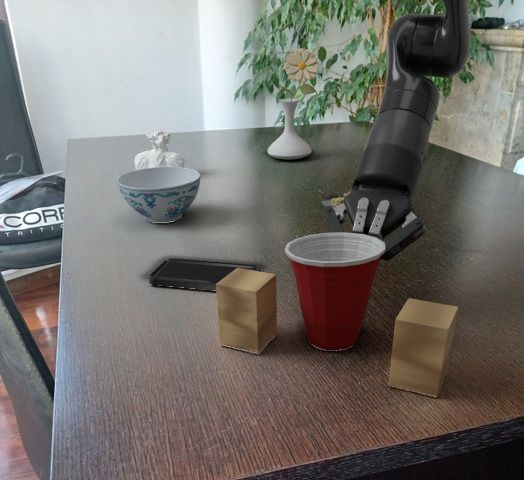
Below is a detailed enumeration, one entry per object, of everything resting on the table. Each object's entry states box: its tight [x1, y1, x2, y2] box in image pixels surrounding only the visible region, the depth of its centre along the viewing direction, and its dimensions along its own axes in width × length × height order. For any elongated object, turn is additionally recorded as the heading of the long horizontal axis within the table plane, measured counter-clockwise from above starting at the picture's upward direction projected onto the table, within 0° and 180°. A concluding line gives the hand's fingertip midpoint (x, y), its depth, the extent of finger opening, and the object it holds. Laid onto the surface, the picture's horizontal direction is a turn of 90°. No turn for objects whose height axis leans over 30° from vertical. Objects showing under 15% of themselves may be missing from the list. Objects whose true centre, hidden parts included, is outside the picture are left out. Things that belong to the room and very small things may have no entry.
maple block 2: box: [388, 297, 459, 397], centre depth 57 cm, size 5×5×8 cm
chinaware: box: [116, 167, 201, 222], centre depth 105 cm, size 15×15×8 cm
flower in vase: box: [266, 47, 320, 160], centre depth 140 cm, size 13×11×25 cm
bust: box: [133, 129, 186, 171], centre depth 131 cm, size 12×8×11 cm
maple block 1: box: [215, 268, 278, 353], centre depth 65 cm, size 5×5×8 cm
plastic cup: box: [284, 231, 386, 350], centre depth 64 cm, size 11×11×12 cm
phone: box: [148, 257, 261, 290], centre depth 82 cm, size 8×1×15 cm
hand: (353, 286), depth 68 cm, fingers closed
